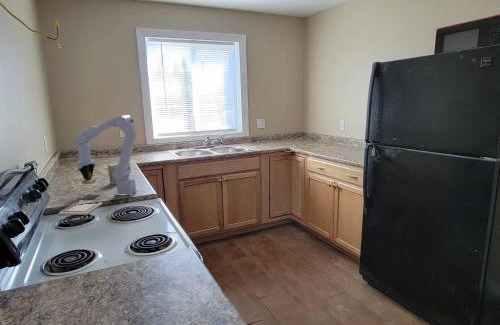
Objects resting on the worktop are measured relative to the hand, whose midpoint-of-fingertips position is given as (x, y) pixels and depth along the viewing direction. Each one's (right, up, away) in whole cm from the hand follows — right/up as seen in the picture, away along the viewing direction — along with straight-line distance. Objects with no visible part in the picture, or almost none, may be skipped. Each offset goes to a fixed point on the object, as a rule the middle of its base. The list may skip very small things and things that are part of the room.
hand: (88, 178), depth 172 cm
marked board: (+7, -14, -20) cm, 25 cm away
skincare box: (+6, -4, +22) cm, 23 cm away
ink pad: (+5, -11, -7) cm, 14 cm away
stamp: (0, -2, +1) cm, 2 cm away
